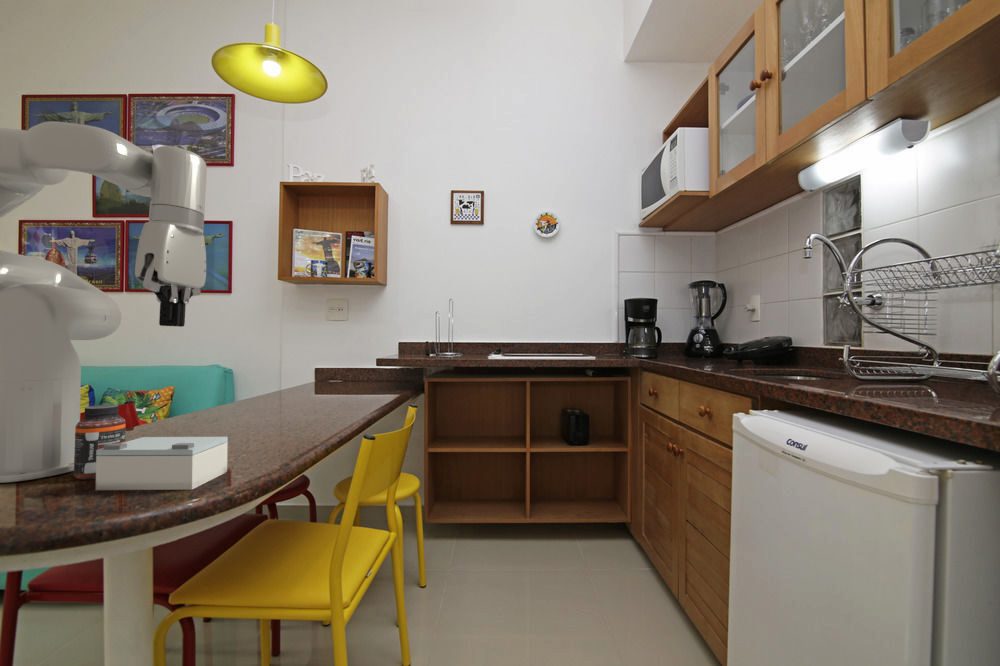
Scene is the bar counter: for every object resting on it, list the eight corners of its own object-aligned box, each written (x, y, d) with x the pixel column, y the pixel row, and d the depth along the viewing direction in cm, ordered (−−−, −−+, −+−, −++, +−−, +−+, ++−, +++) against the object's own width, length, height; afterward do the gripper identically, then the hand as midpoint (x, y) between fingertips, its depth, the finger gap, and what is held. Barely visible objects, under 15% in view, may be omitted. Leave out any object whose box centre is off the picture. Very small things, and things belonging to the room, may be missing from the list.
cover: (96, 455, 60) (96, 445, 60) (142, 441, 68) (143, 433, 68) (192, 454, 60) (192, 445, 60) (227, 441, 68) (227, 433, 68)
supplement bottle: (99, 481, 63) (100, 409, 63) (62, 481, 63) (63, 409, 64) (134, 469, 69) (135, 403, 69) (100, 468, 69) (101, 403, 70)
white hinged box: (95, 490, 59) (96, 456, 60) (142, 472, 67) (142, 442, 68) (192, 489, 60) (192, 455, 60) (227, 471, 68) (227, 442, 68)
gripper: (190, 232, 78) (185, 326, 78) (114, 207, 63) (108, 323, 63) (228, 233, 78) (223, 328, 78) (161, 208, 63) (155, 325, 63)
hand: (171, 325), depth 70 cm, fingers closed
